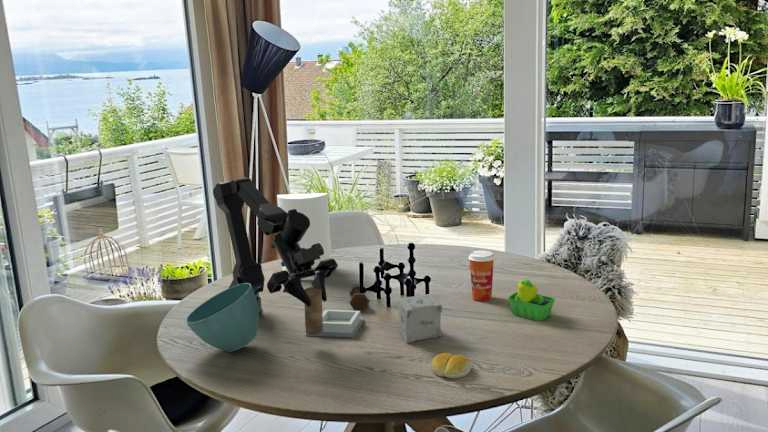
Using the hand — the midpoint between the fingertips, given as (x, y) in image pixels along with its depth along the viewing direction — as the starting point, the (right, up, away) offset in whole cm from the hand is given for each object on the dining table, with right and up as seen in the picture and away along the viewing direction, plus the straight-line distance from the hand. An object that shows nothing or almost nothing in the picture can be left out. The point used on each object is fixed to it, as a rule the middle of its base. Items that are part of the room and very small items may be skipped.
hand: (317, 303), depth 170 cm
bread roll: (+32, -14, -12) cm, 37 cm away
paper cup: (+46, -3, +35) cm, 58 cm away
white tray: (+3, -9, +16) cm, 19 cm away
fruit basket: (+57, -6, +20) cm, 61 cm away
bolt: (+9, -5, +37) cm, 38 cm away
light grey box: (+26, -10, +8) cm, 29 cm away
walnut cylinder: (-1, -8, +3) cm, 8 cm away
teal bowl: (-20, -11, +4) cm, 23 cm away
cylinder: (-10, +2, +69) cm, 69 cm away
